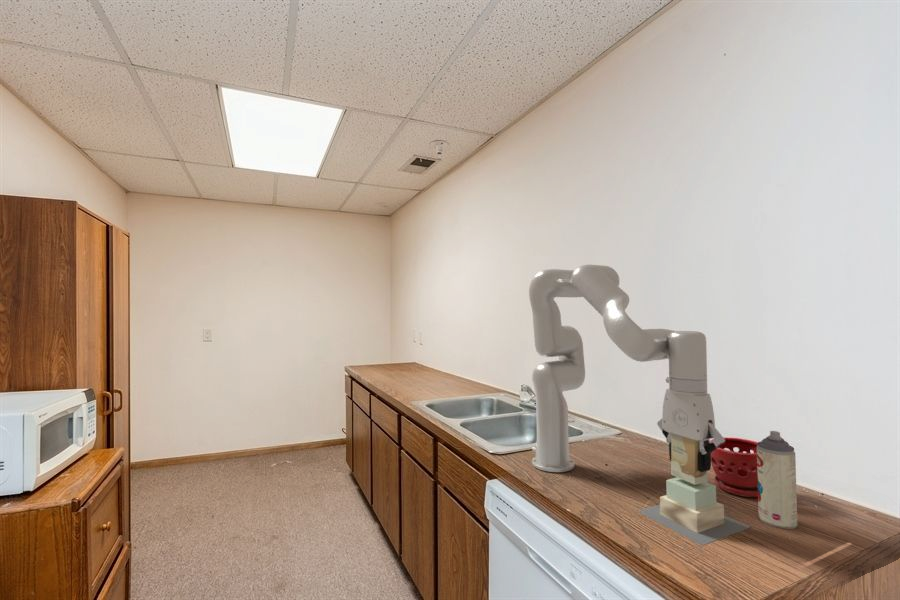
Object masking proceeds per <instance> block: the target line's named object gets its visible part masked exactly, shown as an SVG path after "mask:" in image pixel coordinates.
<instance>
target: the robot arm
mask: <svg viewBox="0 0 900 600" xmlns="http://www.w3.org/2000/svg"><path fill="white" fill-rule="evenodd" d="M528 297H529V301H530V307H531V312H532V323H533V325H532V326H533V334H534V335H533V338H534V347H535V351H536V353H537V354H538V355H539V356H541V357H544V358H555V357H558V360H553V361H551V360H550V361H545V362H541V363H539V364H538V365H537V366H536V367H535V368H534V370H533V371H532V376H531V379H532V385H533V390H534V393H535V394H534V395H535V411H536V413H535V414H536V444H535V446H532V448H531V450H532V451H533V452H534V453H535V456H534V457H533V458H532V459H531V465H532V466H533V467H534V468H536V469H537V470H540V471H544V472H550V473H566V472H569V471H571V470H573V469H574V468H575V461H574V460H573V459H571V458H570V451H569V450H570V447H569V446H570V445H569V443H570V442H569V407H568V403H567V401H566V398H565V395H564V394H563V392H567V391H574V390H577V389H579V388H580V387H582V386H583V384H584V382H585V378H586V367H585V354H584V344H583V343H584V342H583V339H582V336H581V334H580V333H579V331H578V330H577V329H576V328H575V327H573V326H571V325H570V326H569V325H562V318H561V310H560V308H559V306H558V303H557V302H556V301H555V298H583V299H585V301H587V303H589V305H590V306H592V307H593V308H594V310H595V311H596V312H597V313H598V314H599V315H600V316H601V317H602V320H603V326H604V328H605V331H606V333H607V336H608V337H609V339H610V340H611V342H613V343H614V344H615V345H616V347H618V348H619V350H621V351H622V352H623V353H624V354H625V355H626V356H627V357H629V358H630V359H631V360H633V361H636V362H640V363H643V362H644V363H645V362H651V361H653V362H654V361H661V360H668V376H667V377H666V378H665V382H666V383H667V384H669V388H666V390H665V392H664V397H663V405H662V416H661V419H659V420H658V421H657V423H656V424H657V426H658V427H659V429H660V431H661V433H662V434H663V436H664V438H665V441H666V442H667V443H668V453H669V461H670V462H671V434H674V435H677V436H681V437H684V438H687V439H691V440H694V441H698V447H699V449H700V452H701V453H698V470H699V471H700V472H704V471H710V470H711V467H712V464H711V453H712V452H713V451H714V450H715V449H717V448H718V447H719V446H720V445H722V444H723V443H724V442H725V439H724V436H723V435H722V434H721V433H720V432H719V431H718V429H717V428H716V423H715V421H716V419H715V412H714V406H713V402H712V397H711V394H710V393H708V361H707V359H708V358H707V356H708V355H707V336H706V334H704V333H703V332H701V331H697V330H696V331H695V330H671V329H666V328H645V329H642V327H640V326H639V325H638V324H637V323H636V322H634V320H633V319H632V318H631V317H630V316H629V315H628V314H627V312H626V309H627V308H628V306H629V304H630V297H629V295H628V294H627V293H626V291H624V290H623V289H622V288H620V276H619V273H618V272H617V271H616V270H615V269H614V268H613V267H611V266H608V265H602V264H601V265H599V264H584V265H580V266H579V267H577V268H576V269H575V270H574V269H573V270H572V269H557V268H551V269H548V268H547V269H544V270H541V271H539V272H537V273H536V274H535V275H534V276H533V277H532V280H531V281H530V284H529V289H528ZM707 433H708V434H707ZM712 439H714V440H713V441H712V442H710V441H711V440H712ZM703 441H705V445H704V442H703Z"/></svg>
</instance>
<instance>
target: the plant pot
mask: <svg viewBox="0 0 900 600" xmlns="http://www.w3.org/2000/svg"><path fill="white" fill-rule="evenodd" d="M723 438H724V439H725V442H724V443H723V444H722V445H720V446H719V447H718V448H717V449H715V450H714V451H713V452H712V453H711V467H712V469H713V472H714V474H715V476H714V478H713V479H714V483H715V485H716V486H718V488H720V489H722V490H724V492H727V493H730V494H733V495H736V496H741V497H747V498H748V497H749V498H750V497H751V498H755V497H756V498H758V477H757V445H758V444H757V443H758V442H759V441H754V440H751V439H750V440H749V439H745V438H739V437H724V436H723ZM713 440H714V439H713V438H711V439H710V442H712V441H713ZM734 448H737V449H738V451H735V450H734ZM727 449H728V450H727ZM751 451H752V452H751Z"/></svg>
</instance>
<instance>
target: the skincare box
mask: <svg viewBox="0 0 900 600" xmlns="http://www.w3.org/2000/svg"><path fill="white" fill-rule="evenodd" d="M707 434H708V433H707ZM703 442H704V445H705V441H703ZM698 453H701V452H700V449H699V447H698V441H694V440H691V439H687V438H684V437H681V436H677V435H674V434H671V461H670V470H671V471H670V472H671V473H670V474H671V475H672V476H673V477H675V478H676V477H678V478H680V479H683V480H685V481H687V482H690V483H692V484H694V485H696V484H700V483H704V482H707V483H709V481H708V479H709V478H708V477H709V476H708V475H709V473H708V471H709V470H708V471H704V472H700V471H699V470H698Z"/></svg>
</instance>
